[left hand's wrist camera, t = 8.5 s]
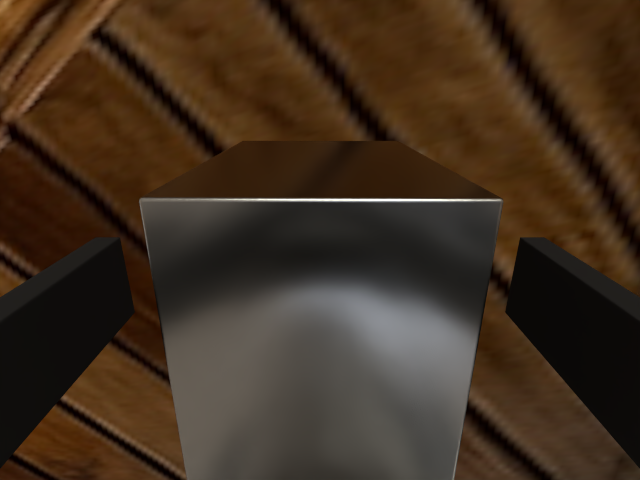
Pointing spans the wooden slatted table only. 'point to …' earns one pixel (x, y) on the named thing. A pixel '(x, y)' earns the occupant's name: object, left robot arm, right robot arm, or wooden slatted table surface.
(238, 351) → the bar
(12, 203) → the wooden slatted table surface
